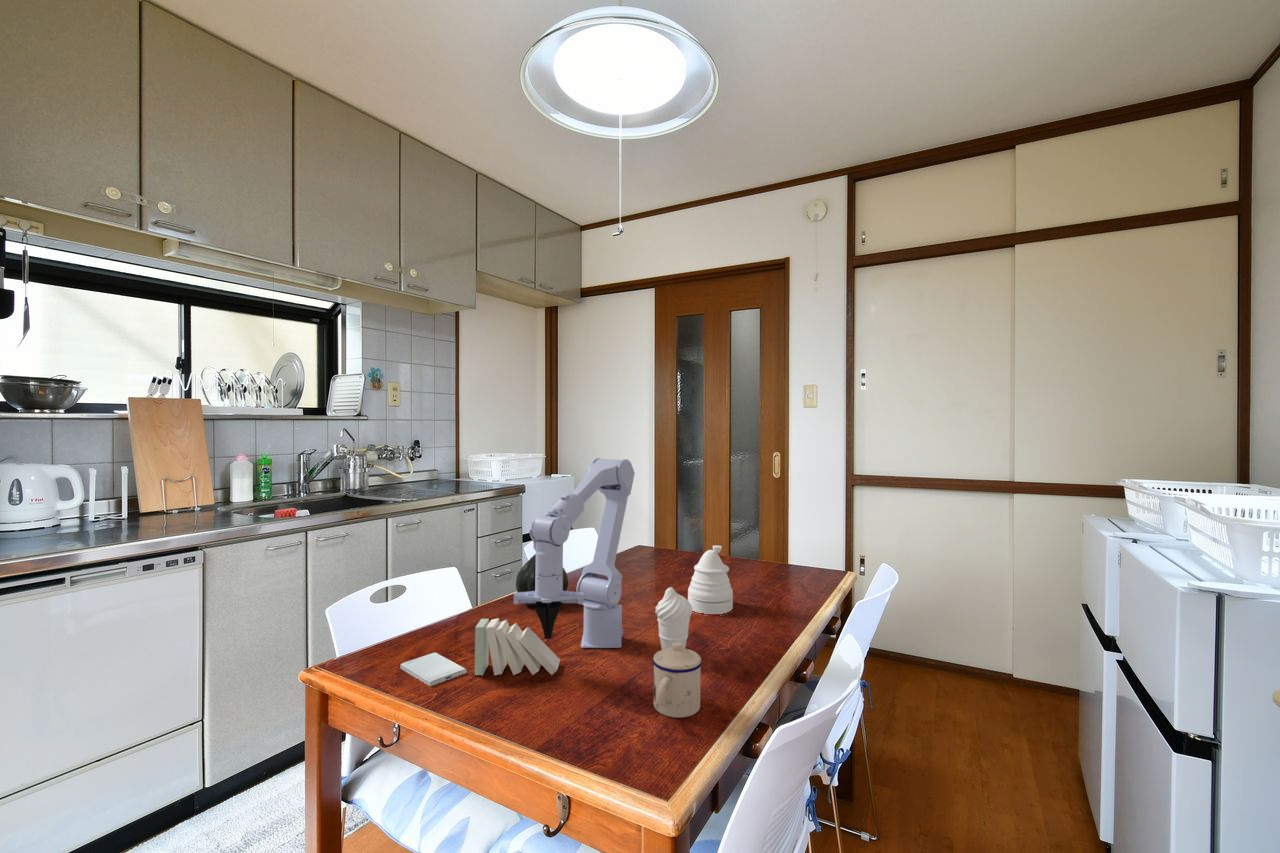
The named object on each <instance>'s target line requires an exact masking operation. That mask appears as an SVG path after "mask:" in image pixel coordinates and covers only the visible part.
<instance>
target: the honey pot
mask: <svg viewBox="0 0 1280 853" xmlns="http://www.w3.org/2000/svg"><path fill="white" fill-rule="evenodd" d="M722 548H723V547H722V546H721V545H716V544H715V545H712V549H708V550H706V551H705V552H704V553H703V554H702V556H701V557H700V559H699V561H698V562H697V564H695V565H694V566H693V569H694V573H693V575H692V576H691V581H690V584H689V586H688V589H687V600H688V601H689V602H690V604H691V606H692V611H695V612H698V613H704V614H723V613H727V612H729V611H731V610H732V609H734V601H733V600H734V592H733V588H732V587H731V583H730V578H729V577H728V576H729V575H728V572H729V571H730V567H729V566H728V565H726V564H724V563H723V561H722V559H721V557H720V555H719V553H721V550H722Z"/></svg>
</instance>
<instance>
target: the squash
mask: <svg viewBox="0 0 1280 853" xmlns="http://www.w3.org/2000/svg"><path fill="white" fill-rule="evenodd" d="M535 575H536V553H535V554H533V555H532V557H530V558H529V560H527V561H526V562H525V563H524V564H523V566H522V567H521V568H520V569H519V571H518V573H517V575H516V579H515V589H516V592H530V591H535ZM568 588H569V577H568V574H567V572H566V569H565V568H564V567H563V591H568ZM523 604H524V605H527V606H530V607H533V606H535V605H536V603H523ZM549 605H550V603H549Z"/></svg>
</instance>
